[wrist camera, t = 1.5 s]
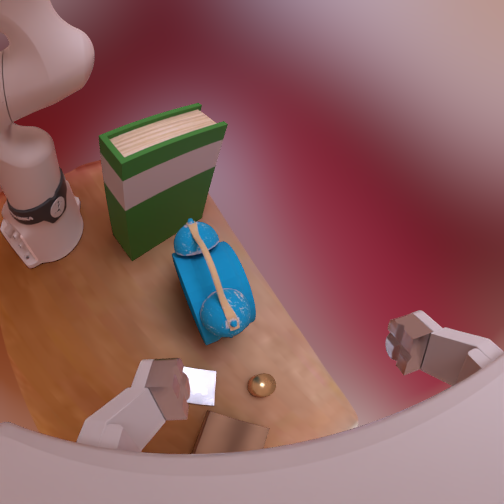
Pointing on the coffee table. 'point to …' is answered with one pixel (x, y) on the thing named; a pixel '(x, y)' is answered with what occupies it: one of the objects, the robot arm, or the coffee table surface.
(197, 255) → the alarm clock
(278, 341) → the coffee table surface
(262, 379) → the brass knob
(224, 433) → the stand
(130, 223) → the hardback book
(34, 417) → the coffee table surface
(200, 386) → the steel plate
